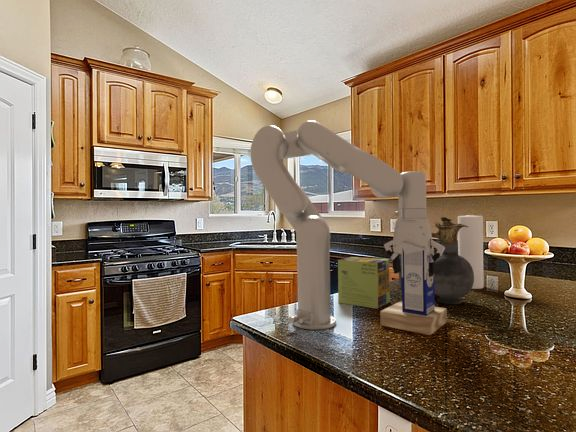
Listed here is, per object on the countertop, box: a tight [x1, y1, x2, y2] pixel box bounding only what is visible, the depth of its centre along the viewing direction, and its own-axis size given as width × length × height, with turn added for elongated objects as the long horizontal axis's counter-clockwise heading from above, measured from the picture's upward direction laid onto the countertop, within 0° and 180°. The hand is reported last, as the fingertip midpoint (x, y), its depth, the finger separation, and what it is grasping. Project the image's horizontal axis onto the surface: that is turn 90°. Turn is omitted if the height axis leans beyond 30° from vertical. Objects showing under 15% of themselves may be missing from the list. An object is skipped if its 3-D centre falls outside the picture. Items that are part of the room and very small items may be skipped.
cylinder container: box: [457, 214, 485, 290], centre depth 153 cm, size 9×9×30 cm
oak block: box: [379, 300, 448, 336], centre depth 105 cm, size 14×14×4 cm
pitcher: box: [431, 216, 474, 305], centre depth 129 cm, size 11×19×30 cm, turn 60°
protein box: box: [337, 256, 391, 310], centre depth 130 cm, size 10×15×16 cm
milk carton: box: [401, 242, 436, 316], centre depth 103 cm, size 7×7×20 cm
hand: (413, 274), depth 105 cm, fingers open, 9 cm apart
